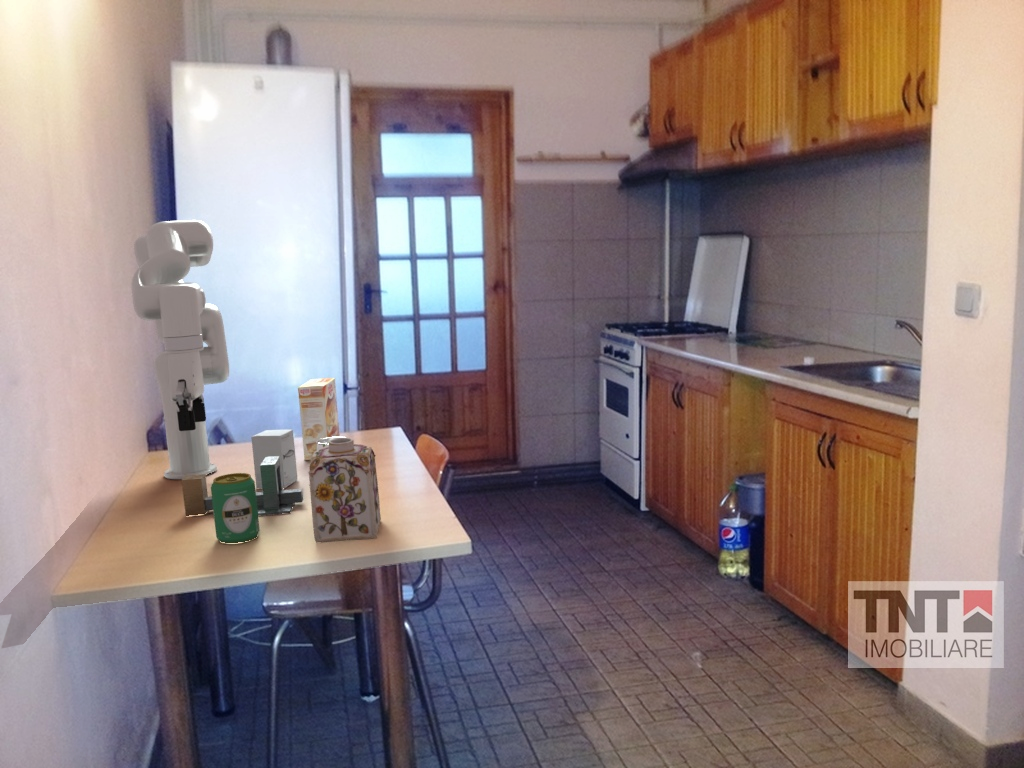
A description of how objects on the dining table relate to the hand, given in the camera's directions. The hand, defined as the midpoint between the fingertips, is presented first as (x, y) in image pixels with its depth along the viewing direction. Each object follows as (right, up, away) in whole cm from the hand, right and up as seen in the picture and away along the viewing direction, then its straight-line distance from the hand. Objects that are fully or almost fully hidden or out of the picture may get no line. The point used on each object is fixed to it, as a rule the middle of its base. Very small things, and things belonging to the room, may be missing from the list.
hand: (193, 425), depth 186 cm
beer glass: (+31, -18, -1) cm, 35 cm away
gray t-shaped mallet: (+10, -18, +4) cm, 21 cm away
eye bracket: (+16, -18, +5) cm, 24 cm away
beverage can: (+14, -21, -15) cm, 30 cm away
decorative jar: (+35, -20, -15) cm, 43 cm away
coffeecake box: (+16, -10, +53) cm, 57 cm away
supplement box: (+12, -15, +23) cm, 30 cm away
